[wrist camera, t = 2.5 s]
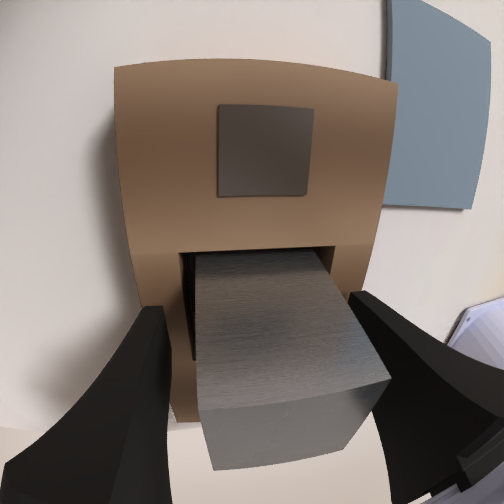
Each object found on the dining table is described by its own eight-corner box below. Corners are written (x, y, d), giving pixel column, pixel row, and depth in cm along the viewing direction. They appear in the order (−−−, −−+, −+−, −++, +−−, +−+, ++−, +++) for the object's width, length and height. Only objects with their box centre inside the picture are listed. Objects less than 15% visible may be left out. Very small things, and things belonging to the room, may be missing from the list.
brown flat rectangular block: (306, 369, 17) (320, 408, 15) (177, 380, 16) (177, 423, 14) (354, 82, 10) (400, 83, 7) (138, 75, 8) (113, 67, 6)
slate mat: (466, 206, 13) (471, 209, 13) (371, 200, 12) (375, 204, 12) (485, 41, 8) (490, 41, 8) (386, -11, 7) (391, -13, 7)
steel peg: (285, 298, 14) (342, 449, 7) (202, 303, 14) (213, 470, 7) (294, 221, 12) (391, 378, 5) (196, 225, 12) (198, 409, 5)
